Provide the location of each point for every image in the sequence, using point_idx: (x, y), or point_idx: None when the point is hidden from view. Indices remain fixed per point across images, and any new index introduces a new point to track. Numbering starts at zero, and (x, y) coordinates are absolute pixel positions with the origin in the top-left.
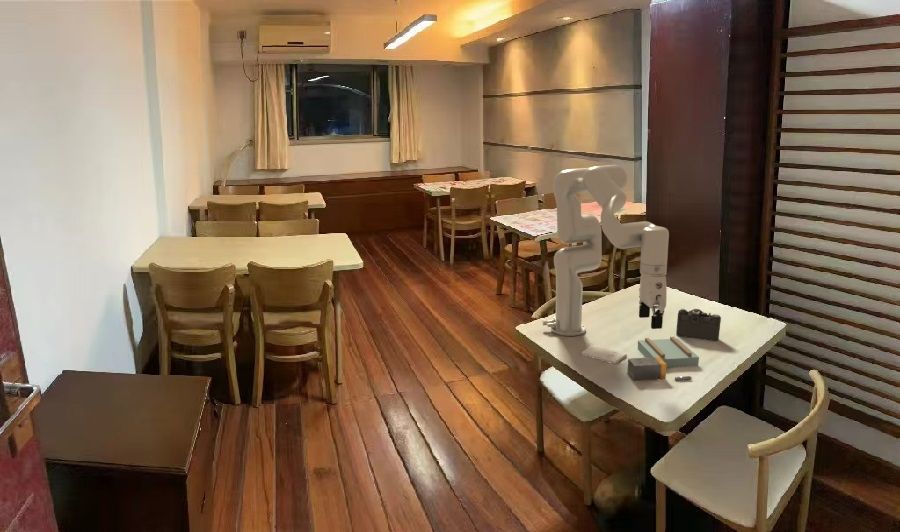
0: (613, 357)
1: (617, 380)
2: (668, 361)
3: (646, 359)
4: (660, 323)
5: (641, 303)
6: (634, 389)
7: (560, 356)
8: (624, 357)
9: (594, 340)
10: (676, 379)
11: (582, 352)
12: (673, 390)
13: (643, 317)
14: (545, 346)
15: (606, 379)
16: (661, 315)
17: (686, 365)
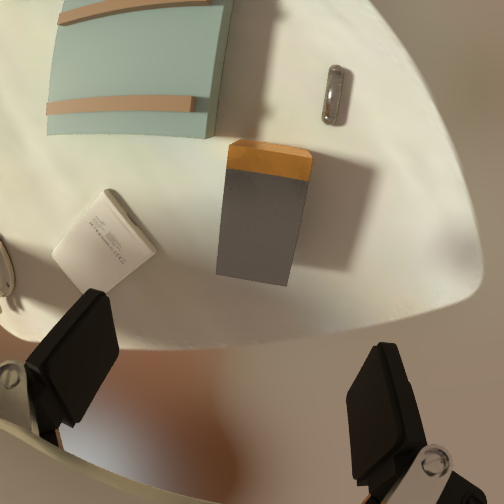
0: (125, 245)
1: (268, 297)
2: (213, 87)
3: (240, 212)
4: (413, 398)
5: (58, 435)
6: (338, 282)
7: None
8: (116, 200)
9: (23, 229)
10: (334, 122)
11: None
12: (390, 176)
13: (115, 333)
14: None
15: (253, 319)
16: (442, 468)
17: (229, 23)
